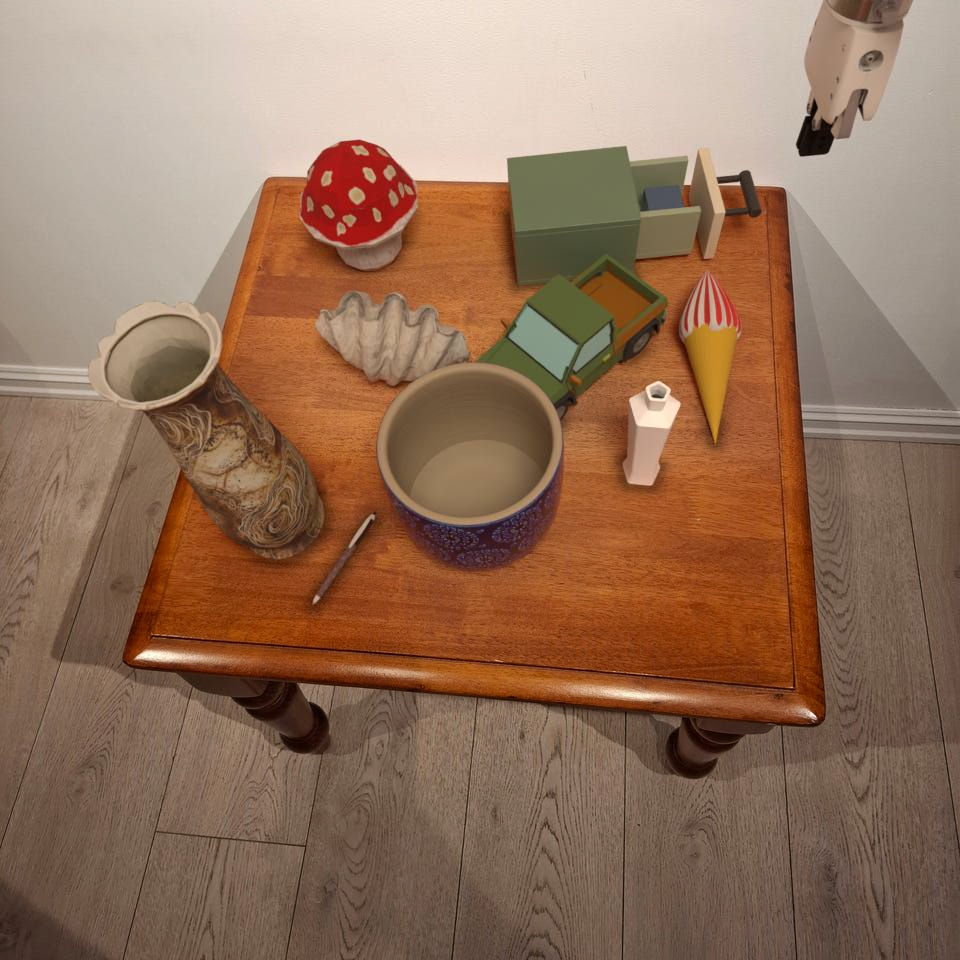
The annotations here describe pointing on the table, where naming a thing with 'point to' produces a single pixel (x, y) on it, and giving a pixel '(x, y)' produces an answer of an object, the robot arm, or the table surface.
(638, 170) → the drawer
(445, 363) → the seashell
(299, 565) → the table surface
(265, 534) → the vase
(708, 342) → the ice cream cone
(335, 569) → the pen
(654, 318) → the toy truck
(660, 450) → the perfume bottle
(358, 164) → the decorative mushroom
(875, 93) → the robot arm
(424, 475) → the planter
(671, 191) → the block
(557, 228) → the cabinet
